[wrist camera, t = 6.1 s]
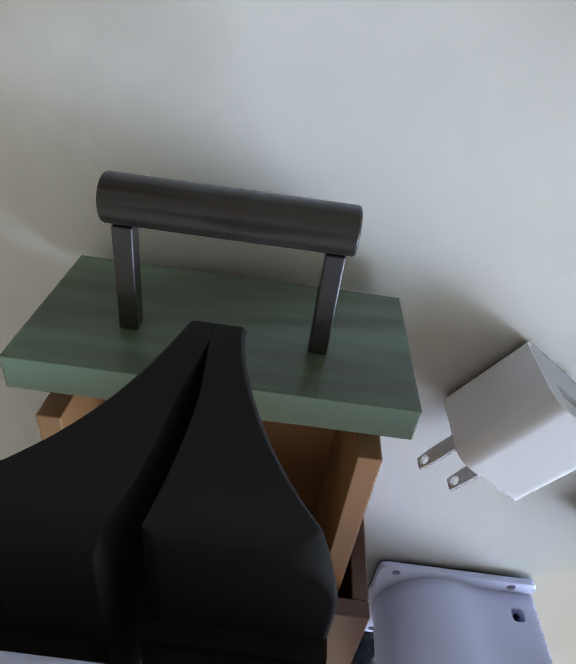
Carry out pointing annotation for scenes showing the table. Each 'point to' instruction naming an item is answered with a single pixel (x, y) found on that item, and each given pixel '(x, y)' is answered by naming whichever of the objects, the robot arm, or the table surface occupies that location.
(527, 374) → the usb wall charger
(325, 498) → the drawer
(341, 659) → the cabinet
